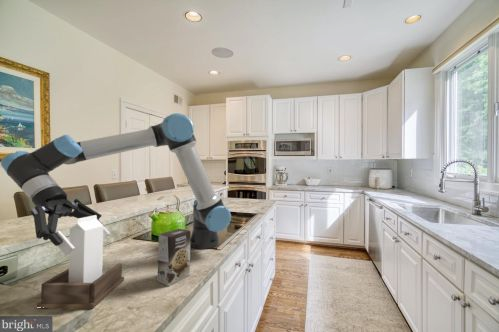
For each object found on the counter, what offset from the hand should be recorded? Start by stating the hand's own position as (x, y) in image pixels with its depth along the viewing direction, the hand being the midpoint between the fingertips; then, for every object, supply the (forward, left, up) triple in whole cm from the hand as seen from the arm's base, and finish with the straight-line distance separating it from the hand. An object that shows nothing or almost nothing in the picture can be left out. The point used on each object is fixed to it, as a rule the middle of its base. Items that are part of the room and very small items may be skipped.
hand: (90, 243), depth 66 cm
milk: (+1, 0, -14) cm, 14 cm away
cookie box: (-23, -9, -15) cm, 29 cm away
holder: (+1, 0, -15) cm, 15 cm away
